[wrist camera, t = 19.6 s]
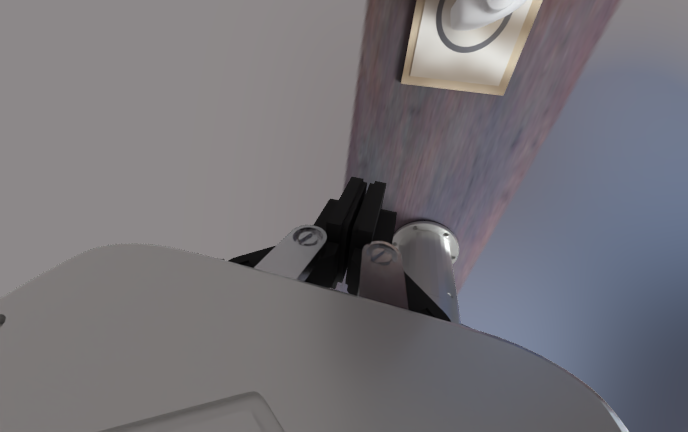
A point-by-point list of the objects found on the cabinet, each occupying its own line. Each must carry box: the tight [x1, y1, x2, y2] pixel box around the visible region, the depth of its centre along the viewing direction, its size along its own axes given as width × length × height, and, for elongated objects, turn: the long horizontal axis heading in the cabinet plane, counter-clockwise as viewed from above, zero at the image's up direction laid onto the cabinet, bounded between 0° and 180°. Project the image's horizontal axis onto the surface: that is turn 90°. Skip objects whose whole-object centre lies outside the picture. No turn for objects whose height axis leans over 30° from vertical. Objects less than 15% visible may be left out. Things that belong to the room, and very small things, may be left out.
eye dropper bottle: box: [450, 0, 526, 31], centre depth 22 cm, size 4×6×12 cm
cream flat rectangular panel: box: [401, 0, 543, 96], centre depth 28 cm, size 16×13×1 cm
